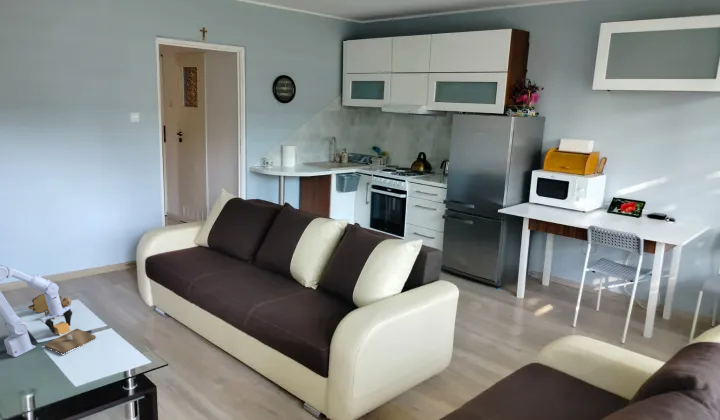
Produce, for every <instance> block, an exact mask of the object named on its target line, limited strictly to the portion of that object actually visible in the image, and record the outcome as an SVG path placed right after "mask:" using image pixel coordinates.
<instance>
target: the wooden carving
mask: <svg viewBox="0 0 720 420" xmlns="http://www.w3.org/2000/svg"><path fill="white" fill-rule="evenodd" d="M59 298H60V301H62V300H63V297H62V296H61V295H59ZM31 301H32V304H31V305H29V306H27V307H28V310H32V312H34V313H45V310H46V308H47V307H48V306H47V302H46V299H45V295H44V293H41V294H39V295H37V296H35V297H34V298H32V300H31Z"/></svg>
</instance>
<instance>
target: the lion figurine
mask: <svg viewBox="0 0 720 420" xmlns="http://www.w3.org/2000/svg"><path fill="white" fill-rule="evenodd" d="M61 305H62V308H65V307H67V306H71V305H72V299H71V297H69V296H65V297H64V298H62V301H61ZM48 314H50V312H49V309H48V307H47V308H46V310H45V312H44V317H45V316H46V315H48ZM55 319H56V317H55V318H52V319H51V320H55Z"/></svg>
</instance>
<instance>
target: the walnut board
mask: <svg viewBox="0 0 720 420" xmlns="http://www.w3.org/2000/svg"><path fill="white" fill-rule="evenodd" d="M95 338H96V339H97V337H96V335H95V334H92V333H89V332H87V331H85V330H82V329H79V328H75V329H73V330H70V331H68V332H66V333H64V334H62V335H60V336H59V337H57V338H55V339H52V340H51V341H48V342H47V343H45V344H44V348H46V349H48V348H49V350H50V349H52V350H54V351H53V352H55V351H57V352H59V353H62V354H64V353H66V352H68V351H70V350H72V349H74V348H77V347H79V346H80V347H82V346H84V345H86V344H88V343H90V342H92V341H94V340H95ZM93 339H94V340H93ZM91 340H92V341H91ZM89 341H90V342H89ZM83 344H84V345H83ZM80 347H79V348H80ZM77 349H78V348H77ZM52 350H51V351H52ZM57 352H56V353H57ZM59 353H58V354H59Z"/></svg>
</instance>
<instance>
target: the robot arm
mask: <svg viewBox="0 0 720 420" xmlns="http://www.w3.org/2000/svg"><path fill="white" fill-rule="evenodd" d="M10 278H15V279H18V280H20V281H23V282H25V283H26V284H27V286H28V287H29V288H32V289H35V290H37V291H40V292H42V293H43V294H44V295H45V299H46V302H47V306H48V309H49V312H50V314H48V315H46V316H45V315H44V316H43V317H41V318H40V321H41V323H42V324H44V325H46V326H47V327H48V328H49V330H50V331H51V333H52V334H55V329H54V325H55V324H54V321H52V320H53V319H52V318H55V319H56V318H57V317H60V316H63V317H64V319H65V322H66V323H68V325H69V327H70V326H71V321H72V315H73V306H72V305H70V306H67V307H65V308H62V305H61V301H60V298H59V296H60V295H59V291H60V290H59V289H60V286H58V284H57V283H56V282H53V281H51V280H50V279H48V278H47V279H46V278H43V277H42V276H41V275H40V274H37V275H36V274H33V275H29V274H27V273H25V272H22V271H20V270H17V269H15V268H13V267H10V266H6V265H3V264H0V284H1V283H2V282H4V280H5V279H10ZM0 316H1V317H2V321H3V323H4V328H5V330H6V331H8V336H7V337H6V338H5V339H3V343H4V346H5V348H6V349H5V350H6V354H8V355H9V356H11V357H14V358H17V357H20V356H21V355H23V354H25V353H27V352H29V351H31V350H33V349H35V348H36V345H33V344H32V342H31V338H30V335H29V333H28V328H29V327H28V323H26V322H25V321H23V320H22V319H21V318H20V317H19V316H18V315H17V314H16V312H15V311H14V309H13V308H12V307H11V305H10V303H9V302H8V300H7V299H6V297H5V296H4V294H3V293H2V291H1V290H0Z"/></svg>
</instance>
